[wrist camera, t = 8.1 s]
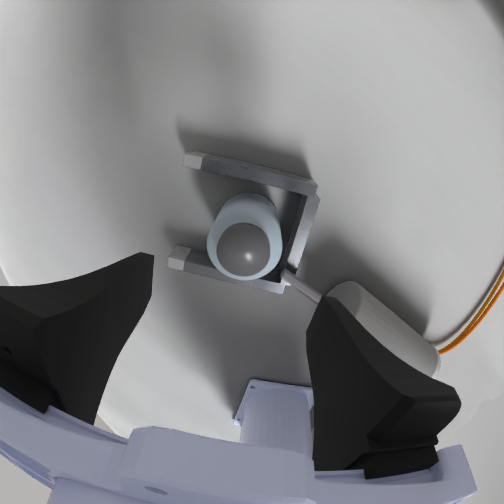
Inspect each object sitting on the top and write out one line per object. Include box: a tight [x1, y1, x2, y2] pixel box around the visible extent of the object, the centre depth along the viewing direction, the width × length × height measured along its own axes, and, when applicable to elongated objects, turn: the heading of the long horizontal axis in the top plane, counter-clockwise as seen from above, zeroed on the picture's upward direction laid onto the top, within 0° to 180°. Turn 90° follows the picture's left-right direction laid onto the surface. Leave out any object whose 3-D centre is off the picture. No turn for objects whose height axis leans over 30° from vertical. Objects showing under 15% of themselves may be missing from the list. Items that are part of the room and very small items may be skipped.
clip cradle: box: [167, 151, 320, 294], centre depth 20 cm, size 8×9×2 cm
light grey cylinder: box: [207, 193, 282, 280], centre depth 18 cm, size 4×4×5 cm
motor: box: [280, 269, 504, 379], centre depth 20 cm, size 23×22×5 cm
